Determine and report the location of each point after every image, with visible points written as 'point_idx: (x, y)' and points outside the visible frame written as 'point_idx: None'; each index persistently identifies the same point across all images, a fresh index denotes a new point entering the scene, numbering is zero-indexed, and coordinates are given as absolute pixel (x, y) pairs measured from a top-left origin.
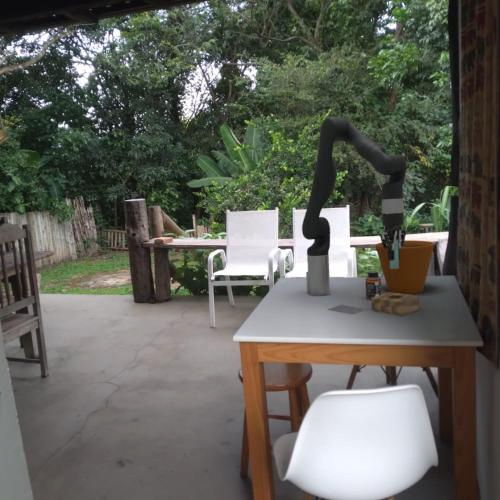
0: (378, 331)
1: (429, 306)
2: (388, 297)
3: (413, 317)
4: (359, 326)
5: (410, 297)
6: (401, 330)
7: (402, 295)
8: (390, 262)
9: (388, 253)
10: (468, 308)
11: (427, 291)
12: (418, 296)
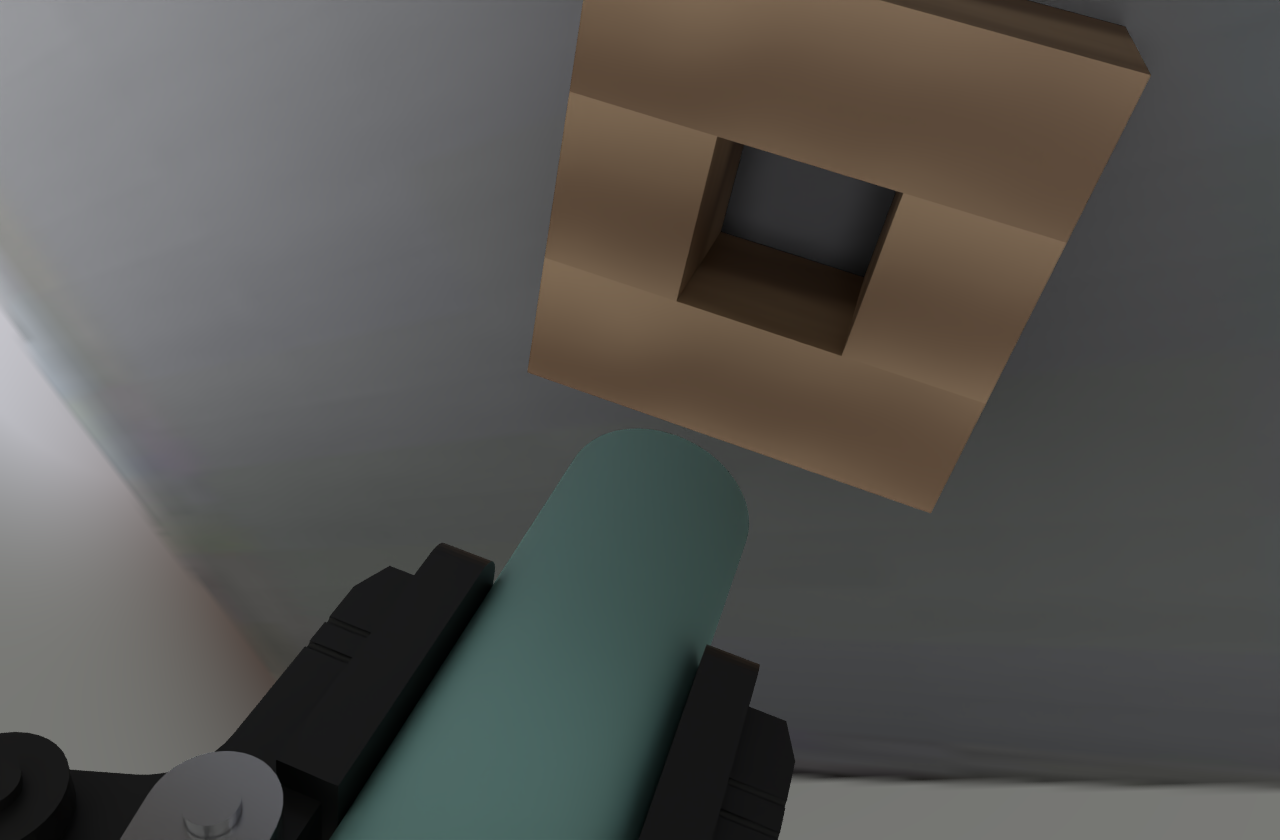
0: (108, 223)
1: (1115, 501)
2: (782, 150)
3: (607, 405)
4: (102, 15)
5: (808, 436)
6: (234, 374)
7: (905, 327)
8: (526, 534)
9: (284, 694)
10: (1092, 783)
11: None
12: (924, 506)
